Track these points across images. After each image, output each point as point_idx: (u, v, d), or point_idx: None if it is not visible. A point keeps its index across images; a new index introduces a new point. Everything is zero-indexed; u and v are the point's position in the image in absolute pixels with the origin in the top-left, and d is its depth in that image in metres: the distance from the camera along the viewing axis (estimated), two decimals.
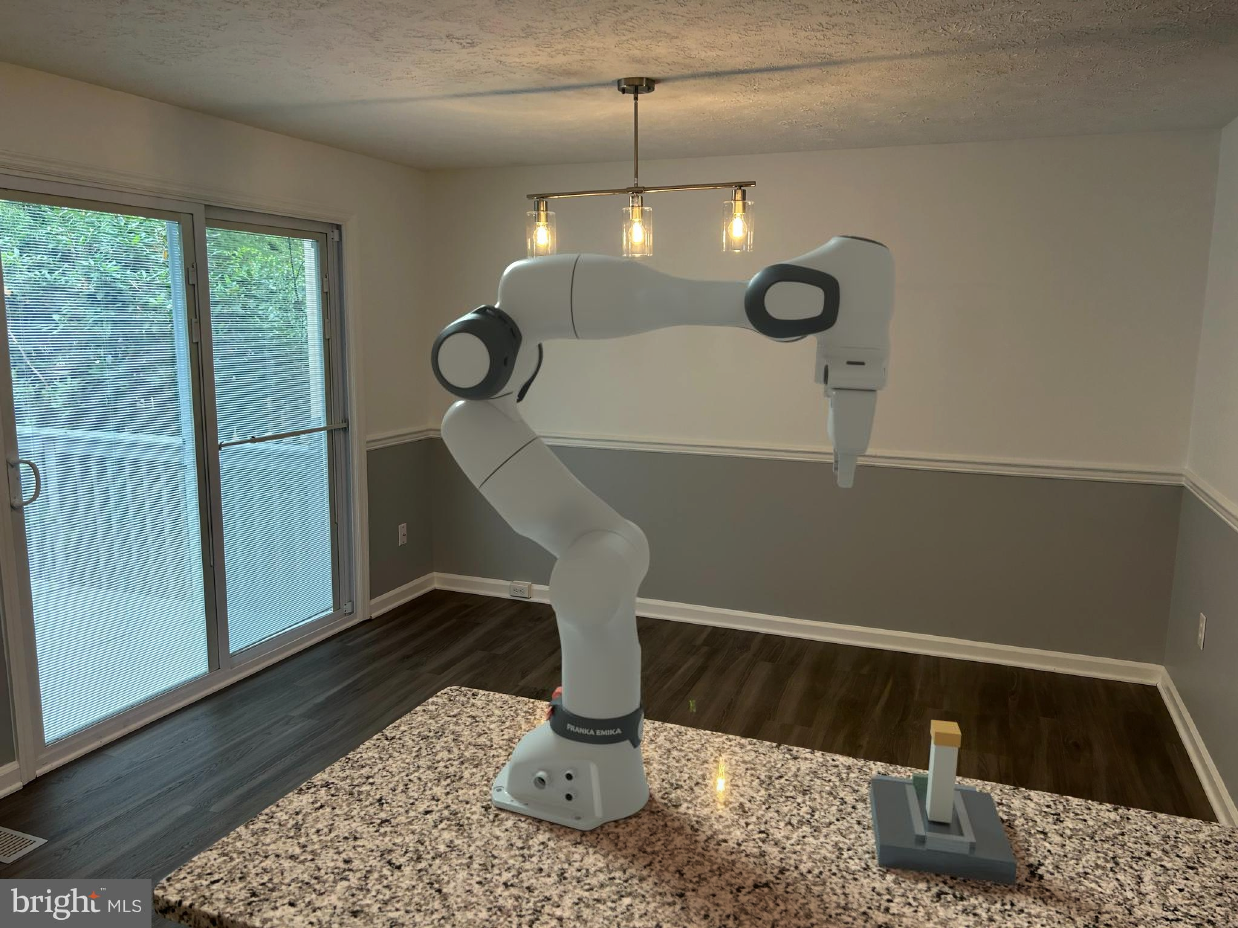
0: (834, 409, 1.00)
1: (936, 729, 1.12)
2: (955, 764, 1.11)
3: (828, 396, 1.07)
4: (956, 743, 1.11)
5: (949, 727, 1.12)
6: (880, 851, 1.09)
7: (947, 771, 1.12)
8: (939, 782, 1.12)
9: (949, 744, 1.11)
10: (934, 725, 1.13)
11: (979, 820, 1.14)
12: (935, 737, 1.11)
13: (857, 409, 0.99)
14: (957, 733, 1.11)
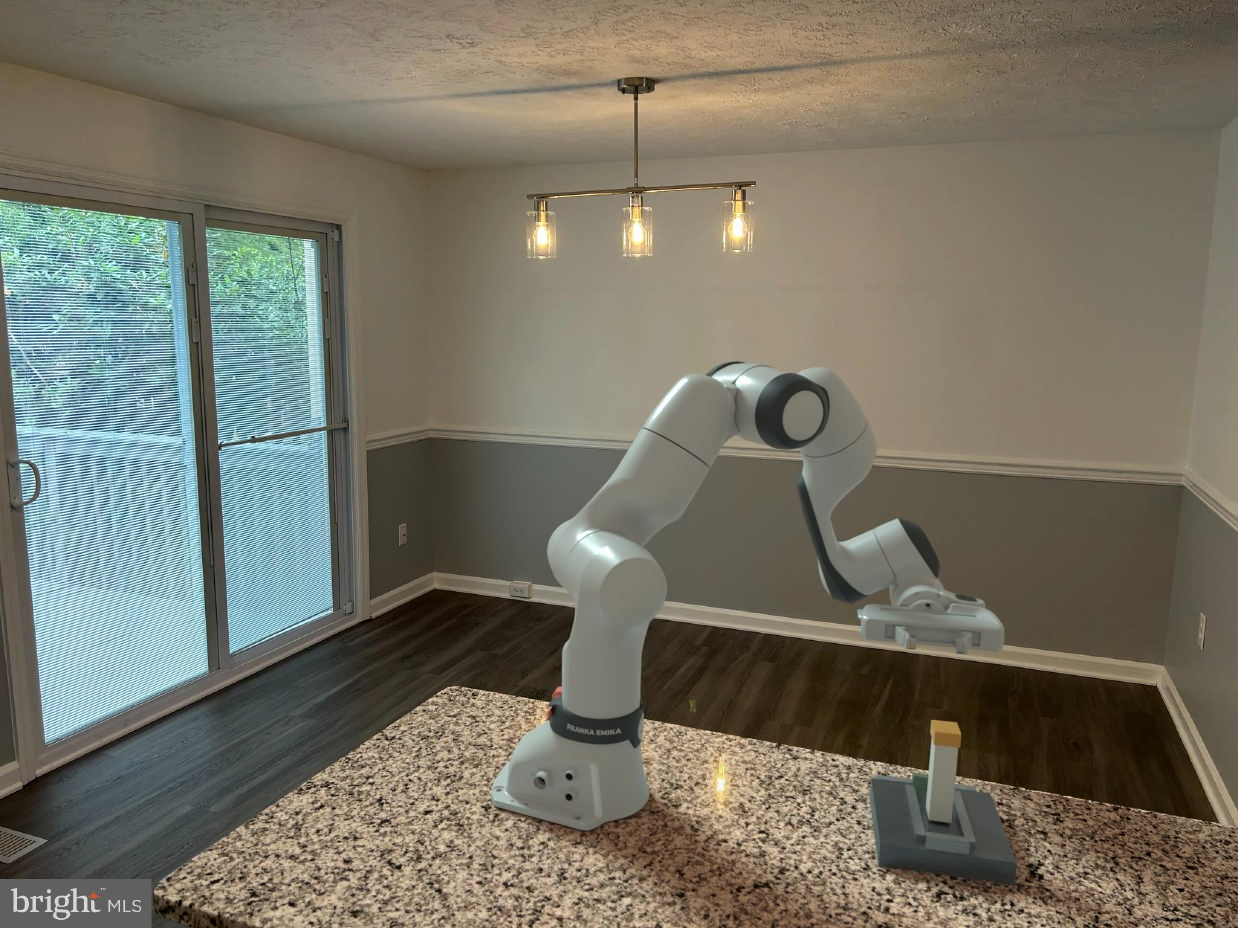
0: (994, 614, 1.30)
1: (936, 729, 1.12)
2: (955, 764, 1.11)
3: (939, 605, 1.32)
4: (956, 743, 1.11)
5: (949, 727, 1.12)
6: (880, 851, 1.09)
7: (947, 771, 1.12)
8: (939, 782, 1.12)
9: (949, 744, 1.11)
10: (934, 725, 1.13)
11: (979, 820, 1.14)
12: (935, 737, 1.11)
13: None
14: (957, 733, 1.11)
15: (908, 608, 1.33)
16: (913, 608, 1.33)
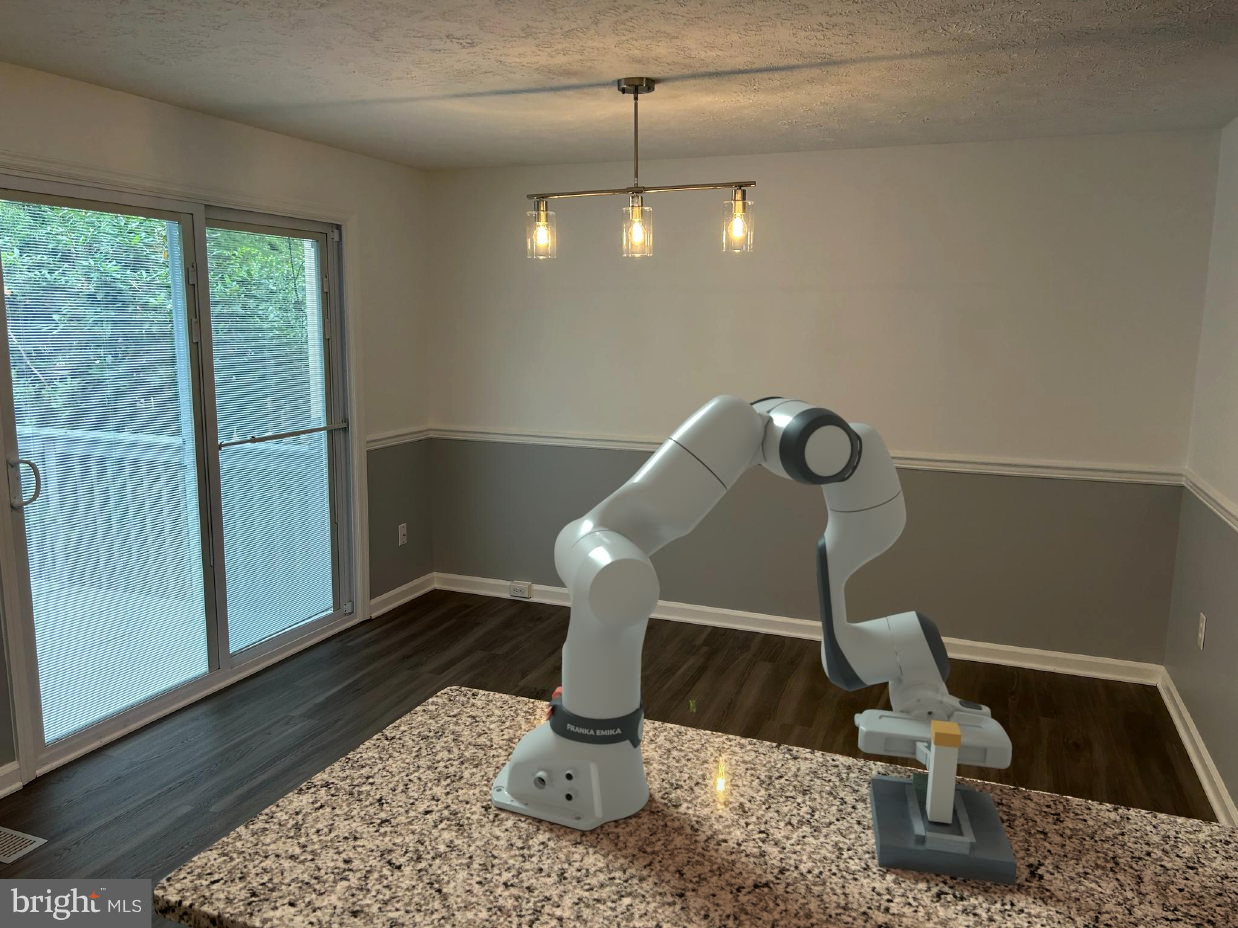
0: (1000, 726, 1.22)
1: (937, 729, 1.12)
2: (955, 764, 1.11)
3: (942, 714, 1.24)
4: (956, 744, 1.11)
5: (949, 727, 1.12)
6: (880, 851, 1.09)
7: (947, 771, 1.12)
8: (939, 782, 1.12)
9: (949, 744, 1.11)
10: (934, 725, 1.13)
11: (979, 820, 1.14)
12: (935, 737, 1.11)
13: None
14: (957, 733, 1.11)
15: (909, 716, 1.25)
16: (914, 716, 1.25)
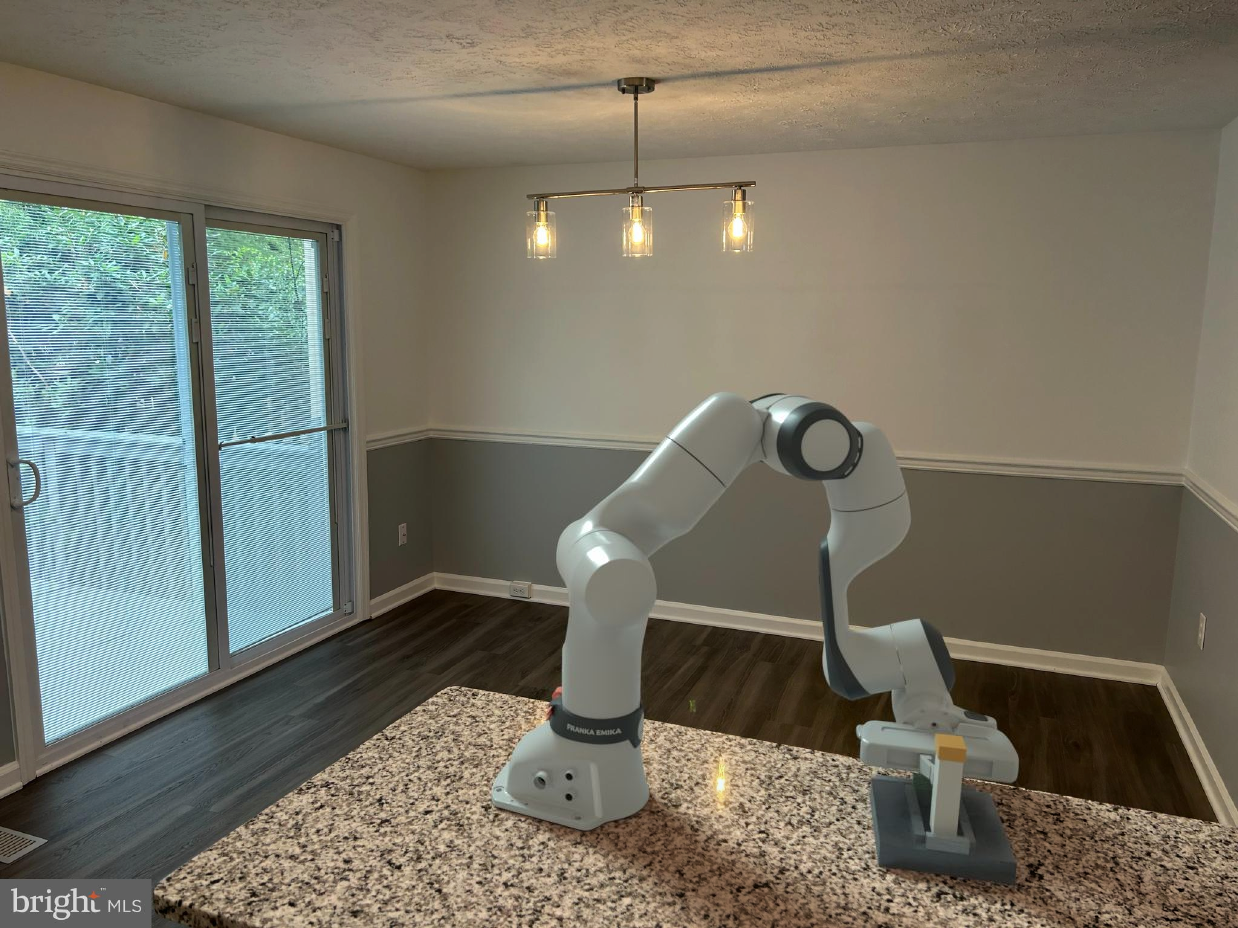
0: (1007, 738, 1.18)
1: (941, 743, 1.08)
2: (960, 780, 1.08)
3: (947, 726, 1.21)
4: (961, 758, 1.07)
5: (954, 741, 1.09)
6: (880, 851, 1.09)
7: (951, 787, 1.08)
8: (943, 798, 1.09)
9: (954, 759, 1.07)
10: (938, 739, 1.09)
11: (979, 820, 1.14)
12: (939, 752, 1.07)
13: None
14: (962, 747, 1.07)
15: (912, 727, 1.22)
16: (917, 728, 1.21)
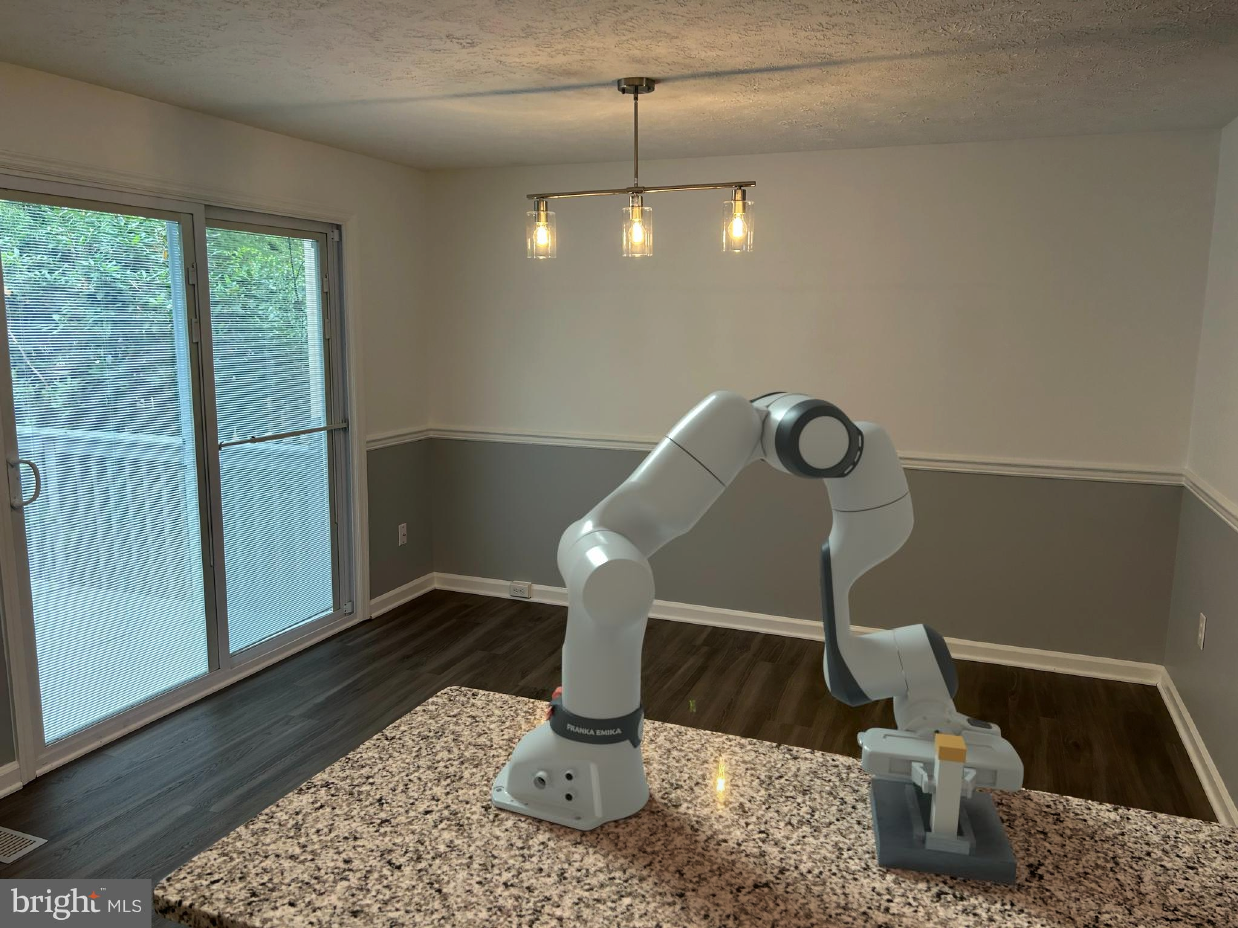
0: (1011, 746, 1.16)
1: (941, 743, 1.08)
2: (960, 780, 1.08)
3: (950, 733, 1.18)
4: (961, 758, 1.07)
5: (954, 741, 1.09)
6: (880, 851, 1.09)
7: (951, 787, 1.08)
8: (943, 798, 1.09)
9: (954, 759, 1.07)
10: (938, 739, 1.09)
11: (979, 820, 1.14)
12: (939, 752, 1.07)
13: None
14: (962, 747, 1.07)
15: (915, 735, 1.19)
16: (920, 735, 1.19)
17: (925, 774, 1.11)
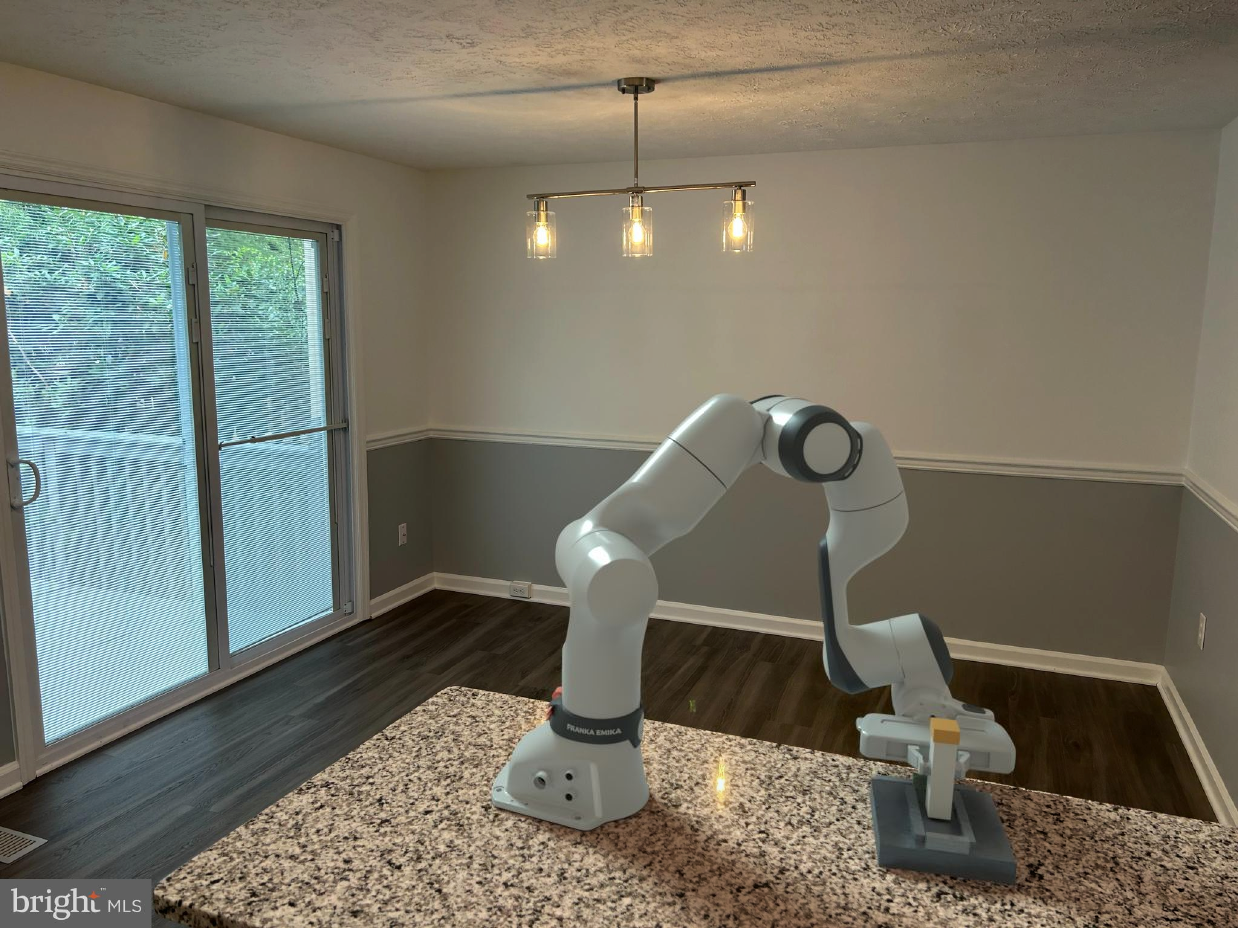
0: (1004, 730, 1.20)
1: (936, 726, 1.12)
2: (954, 761, 1.12)
3: (945, 718, 1.23)
4: (955, 741, 1.11)
5: (948, 724, 1.13)
6: (880, 851, 1.09)
7: (946, 768, 1.12)
8: (938, 779, 1.13)
9: (948, 741, 1.12)
10: (933, 723, 1.13)
11: (979, 820, 1.14)
12: (934, 734, 1.12)
13: None
14: (956, 730, 1.11)
15: (911, 720, 1.24)
16: (916, 720, 1.24)
17: (921, 756, 1.15)
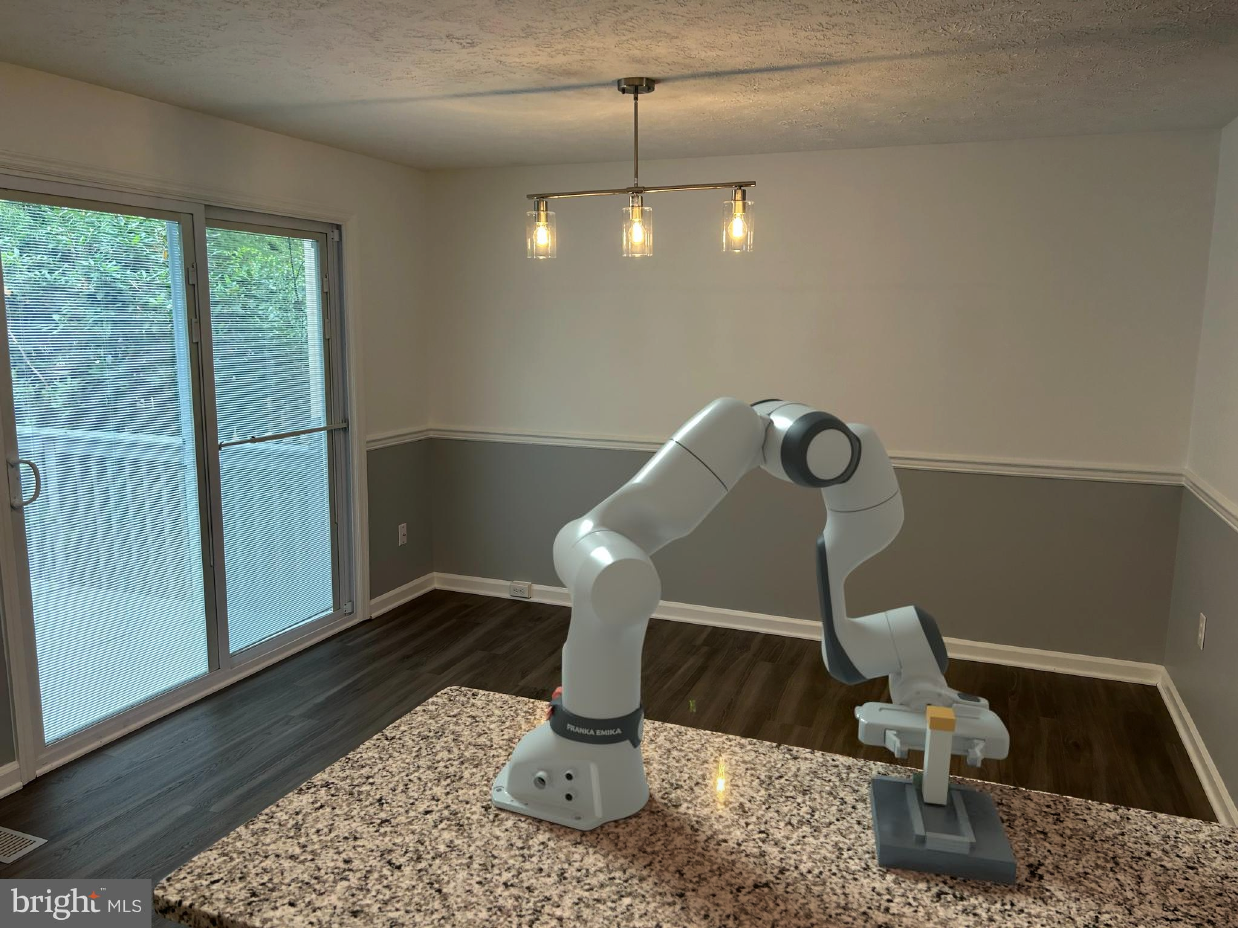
0: (998, 717, 1.24)
1: (932, 714, 1.16)
2: (950, 748, 1.16)
3: (941, 706, 1.27)
4: (951, 727, 1.15)
5: (944, 712, 1.17)
6: (880, 851, 1.09)
7: (941, 754, 1.16)
8: (934, 765, 1.16)
9: (944, 728, 1.15)
10: (929, 710, 1.17)
11: (979, 820, 1.14)
12: (930, 722, 1.15)
13: None
14: (951, 717, 1.15)
15: (908, 708, 1.28)
16: (913, 708, 1.27)
17: (898, 740, 1.20)
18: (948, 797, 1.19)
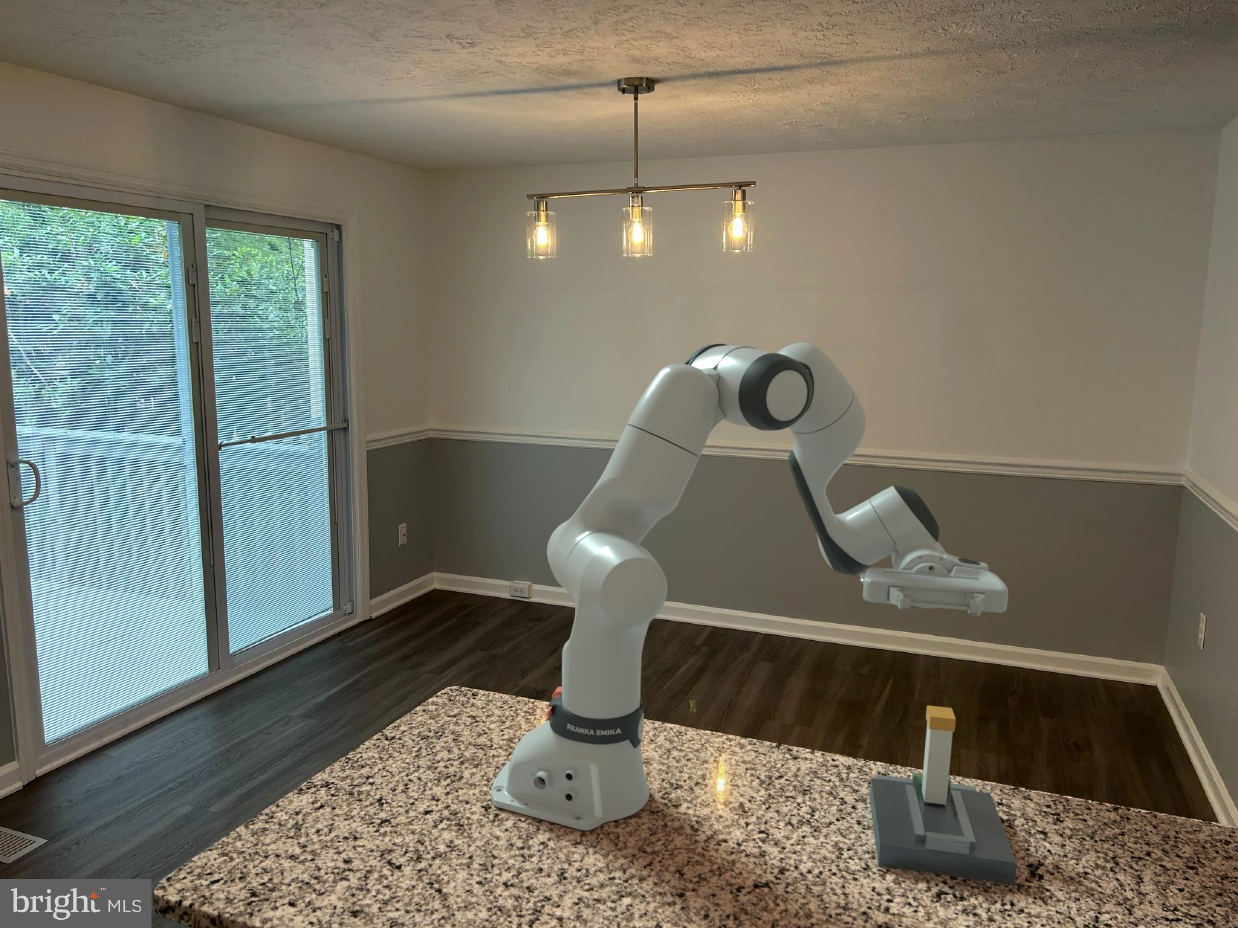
0: (997, 577, 1.29)
1: (932, 714, 1.16)
2: (950, 748, 1.16)
3: (942, 568, 1.31)
4: (951, 727, 1.15)
5: (944, 712, 1.17)
6: (880, 851, 1.09)
7: (941, 754, 1.16)
8: (934, 765, 1.16)
9: (944, 728, 1.15)
10: (929, 710, 1.17)
11: (979, 820, 1.14)
12: (930, 722, 1.15)
13: None
14: (951, 717, 1.15)
15: (911, 571, 1.32)
16: (915, 571, 1.32)
17: (901, 594, 1.25)
18: (948, 797, 1.19)
